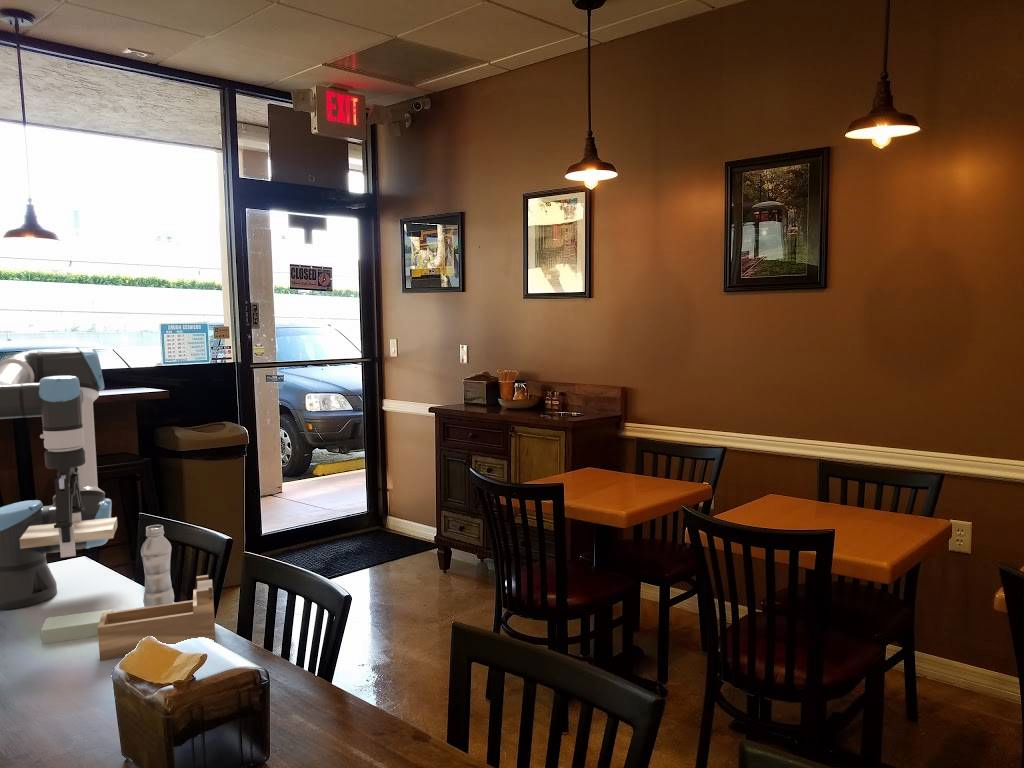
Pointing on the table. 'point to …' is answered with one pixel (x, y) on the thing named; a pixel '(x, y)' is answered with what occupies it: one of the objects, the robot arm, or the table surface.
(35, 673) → the table surface
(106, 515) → the robot arm
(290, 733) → the table surface
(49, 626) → the block
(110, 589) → the table surface
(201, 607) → the toolbox
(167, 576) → the plastic bottle
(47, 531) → the lid
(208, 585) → the block
